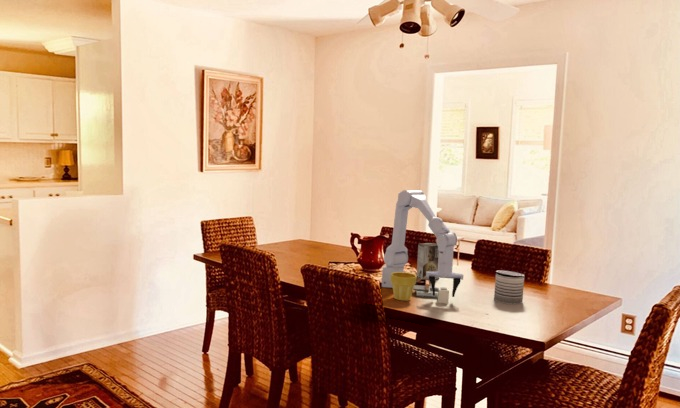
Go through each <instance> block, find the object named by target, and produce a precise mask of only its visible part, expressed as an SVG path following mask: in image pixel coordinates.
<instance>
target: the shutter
mask: <svg viewBox="0 0 680 408" xmlns="http://www.w3.org/2000/svg"><path fill="white" fill-rule="evenodd" d="M429 286H430V281H429V280H428V279H425V285H421V284H420V285H418V284H415V285H414V288H413V291H416V290H418V291H429Z"/></svg>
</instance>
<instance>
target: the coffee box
mask: <svg viewBox="0 0 680 408" xmlns="http://www.w3.org/2000/svg"><path fill="white" fill-rule="evenodd" d="M417 246H418V247H417V260H416V261H417V263H416V276H418V277H417V278H419V277H420V278H421V279H420V278H419V279H420V280H429V277H426V272H438V256H439V250H438V245H437V242H436V243H435V242H425V243H422V242H421V243H418V245H417ZM436 279H437V280H438V279H440V278H437V277H435V280H436Z"/></svg>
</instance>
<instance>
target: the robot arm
mask: <svg viewBox="0 0 680 408" xmlns="http://www.w3.org/2000/svg"><path fill="white" fill-rule="evenodd" d="M413 208H415V209H418V210H419V212H421V213H422V215H423V216H424V217H425V218H426V220H427V221H428V225H427V226H428V227H429V229H430V231H431V233H433V235H434V236H435V238H436V239H435V242H436V244H437V245H438V250H439V256H438V272H426V277H429V279H428V281H429V284H430V286H431V287H432V290H433V296H435V287H436V279H435V277H437V278H439V279H441V278H442V279H452V280H453V281H452V293H451V296H452V298H455V295H456V291H457V290H458V289H457V288H458V287H459V285H460V284H461V281H462V280H464V273H457V272H453V265H454V263H453V262H454V249H455V246H456V245H457V243H458V236H457V235H456V233H455V232H454V231H451V230H450V229H449V228H448V227H447V225H446V224H445V223H444V220H443V218H441V217H437V216H436V214H435V213H434V211H433V210H432V208H431V206H430V204H429V203H428V201H427V196H426V194H425V193H424V191H422V190H421V189H415V190H414V189H411V190H410V189H409V190H407V189H404V190H402V191H400V192H399V193H398V195H397V201H396V203H395V211H394V212H395V213H394V221H393V229H392V230H393V231H392V237H391V244H390V245H388V246H387V247H386V249H385V250H386V251H385V253H384V255H383V262H384V264H385V265H382V272H381V279H380V281H381V287H382V288H389V289H391V288H392V289H393V286H392V283H391V274H392V273H394V272H405V270H404V269H405V266H406V264H408V262H409V255H408V254H409V253H408V251H409V249H408V248H407V247H406V246H405V242H406V233H407V224H408V216H409V211H410V210H412V209H413Z"/></svg>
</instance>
